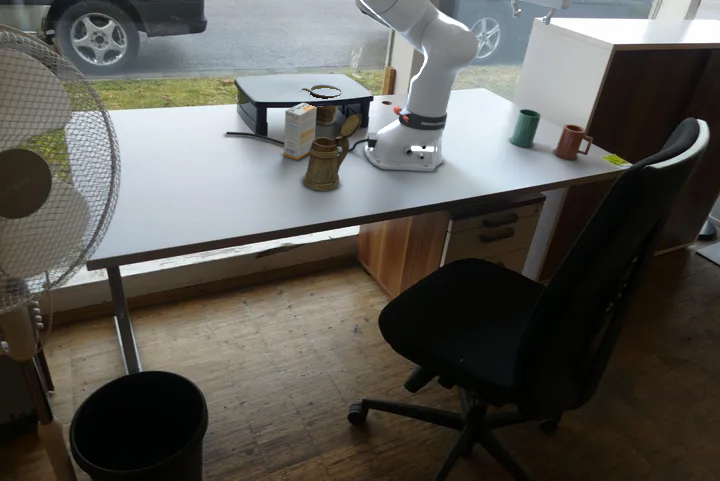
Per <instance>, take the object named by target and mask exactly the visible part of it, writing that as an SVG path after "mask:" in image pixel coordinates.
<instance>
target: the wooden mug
mask: <svg viewBox="0 0 720 481" xmlns="http://www.w3.org/2000/svg"><path fill="white" fill-rule="evenodd" d="M362 118H363V115H362V113H356V114H352V115H350V116H349V117H347V119H346V120H345V121H344V123H343V124H342V126H341V129H340V130H341V131H340V134H339V136H336V137H334V138H330V137H327V136H318V137H315V138H314V139H313V141H312V145H311V147H310V150H309V152H310V153H309V158H308V161H307V162H308V163H307V167H306V171H305V173H304V177H303V183H304V185H305V186H306V187H307V188H310V189H312V190H314V191H320V192H327V191H332V190H334V189H337V188H338V187H339V185H340V175H339V171H340V167H341V165H342V163H343V162H344V160H345V159H346V157H347V155H348V153H349V152H348V150H349V149H350V141H349V139H350V138H351V137H352V136H354V135H355V134H356V133H357V131H358V130H359V128H360V127H361V124H362ZM340 148H341V151H342V152H341V151H340ZM339 152H341V154H338V153H339Z"/></svg>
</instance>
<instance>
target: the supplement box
mask: <svg viewBox="0 0 720 481" xmlns="http://www.w3.org/2000/svg"><path fill="white" fill-rule="evenodd" d="M316 110H317V107H315V106H312V105H309V104H308V103H307V102H301V103H299V104H297V105H294V106H292V107H289V108H288V109H285V111H284V141H283V142H284V145H283V156H284V157H288V158H290V159H293V160H295V161H298V160H300V159H302V158H304V157H306V156H307V155H310V152H309V150H310V147H311V145H312V141H313V139H315V138H316V137H315V136H316V125H317V124H316Z"/></svg>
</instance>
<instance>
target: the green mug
mask: <svg viewBox="0 0 720 481" xmlns="http://www.w3.org/2000/svg"><path fill="white" fill-rule="evenodd" d="M541 117H542V114H541V113H540V112H538V111H537V110H533V109H529V108H528V109H527V108H523V109H519V112H518V114H517V117H516V121H515V125H514V128H513V132H512V136H511V139H510V142H511V143H512V144H513V145H515V146H517V147H522V148H530V147H532V145H533V143H534V141H535V138H536V134H537V130H538V127H539V124H540V120H541Z"/></svg>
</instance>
